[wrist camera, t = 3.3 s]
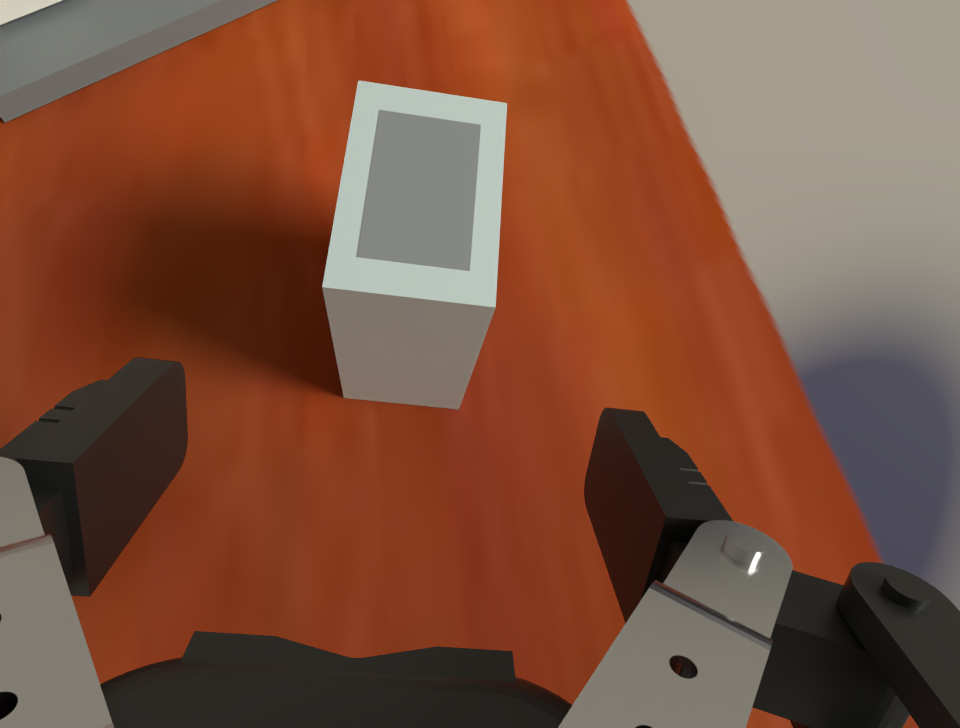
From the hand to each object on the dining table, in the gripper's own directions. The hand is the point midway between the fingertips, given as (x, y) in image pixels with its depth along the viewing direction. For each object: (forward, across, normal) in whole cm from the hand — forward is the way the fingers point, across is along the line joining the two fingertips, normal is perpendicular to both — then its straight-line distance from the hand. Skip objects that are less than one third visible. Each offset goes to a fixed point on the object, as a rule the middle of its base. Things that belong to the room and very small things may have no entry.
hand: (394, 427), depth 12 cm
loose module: (+14, 0, +3) cm, 14 cm away
